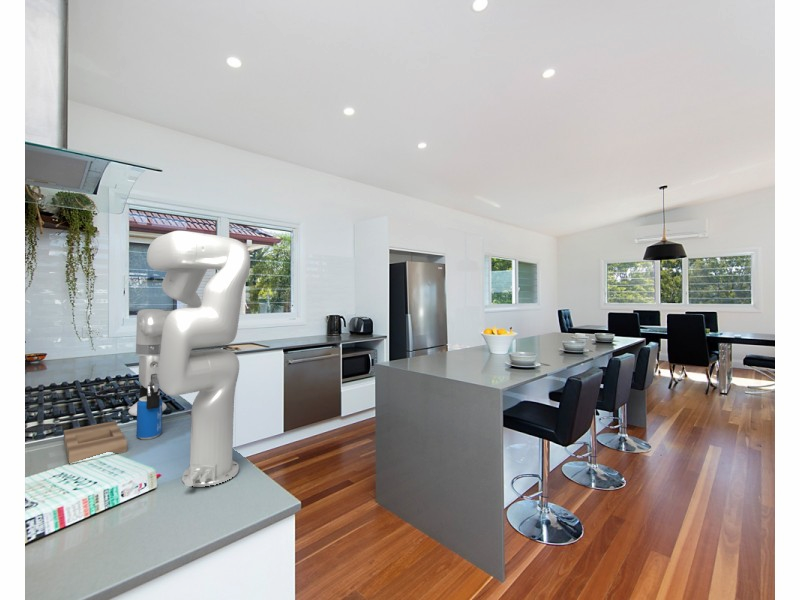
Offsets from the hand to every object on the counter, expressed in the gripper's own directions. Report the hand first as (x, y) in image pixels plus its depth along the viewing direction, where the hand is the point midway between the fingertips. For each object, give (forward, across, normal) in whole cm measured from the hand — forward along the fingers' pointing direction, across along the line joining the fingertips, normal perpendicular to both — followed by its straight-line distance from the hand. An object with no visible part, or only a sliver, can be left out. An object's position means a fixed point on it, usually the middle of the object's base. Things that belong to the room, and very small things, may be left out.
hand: (149, 403), depth 113 cm
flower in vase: (+11, +23, -4) cm, 26 cm away
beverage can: (+10, -1, 0) cm, 10 cm away
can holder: (+10, +1, +13) cm, 16 cm away
